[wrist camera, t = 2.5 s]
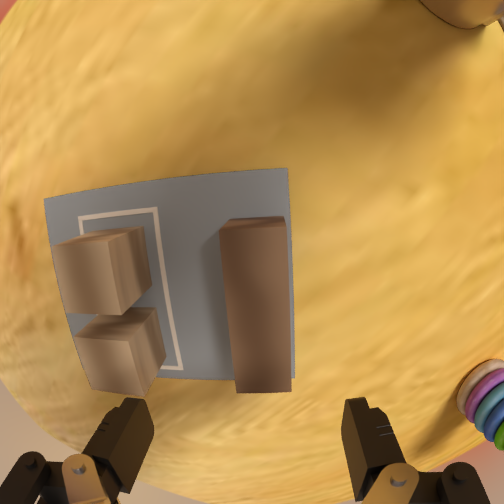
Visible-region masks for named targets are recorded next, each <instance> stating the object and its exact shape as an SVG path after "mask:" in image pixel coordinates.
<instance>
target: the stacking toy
mask: <svg viewBox="0 0 504 504" xmlns="http://www.w3.org/2000/svg"><path fill="white" fill-rule="evenodd" d="M457 407H458V409H459V411H460V412H461V413H462V414H464V415H466V417H467V419H468V420H469V421H470V422H472V423H474V424H475V427H476V429H477V430H478V431H480V432H482V433H484V436H485V438H486V439H487V440H488V441H490V442H494V443H495V446H496V447H497V449H499V450H504V361H503V360H501V359H492V360H489V361H486V362H484V363H483V364H481V365H480V366H478V367H477V368H476V369H475V370H473V371H472V372H471V373H470V374H469V376H468V377H467V378H466V379H465V381H464V382H463V384H462V386H461V388H460V390H459V392H458V396H457Z"/></svg>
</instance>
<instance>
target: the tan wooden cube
mask: <svg viewBox="0 0 504 504" xmlns="http://www.w3.org/2000/svg"><path fill="white" fill-rule="evenodd" d="M51 248H52V253H53V259H54V264H55V269H56V273H57V278H58V282H59V287H60V291H61V295H62V299H63V303H64V307H65V310H66V313H78V314H101V315H122V314H123V313H124V312H125V311H126V310H127V309H129V308H130V307H131V306H132V305H133V304H134V303H135V302H136V301H137V300H138V299H139V298H140V297H141V296H142V295H143V294H144V293H145V292H146V291H147V290H148V289H149V288H150V287H151V286H152V280H151V274H150V268H149V262H148V255H147V248H146V241H145V233H144V226H135V227H125V228H115V229H105V230H95V231H91V232H88V233H85V234H83V235H80V236H77V237H75V238H72V239H69V240H67V241H64V242H62V243H59V244H56V245H54V246H51Z"/></svg>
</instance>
